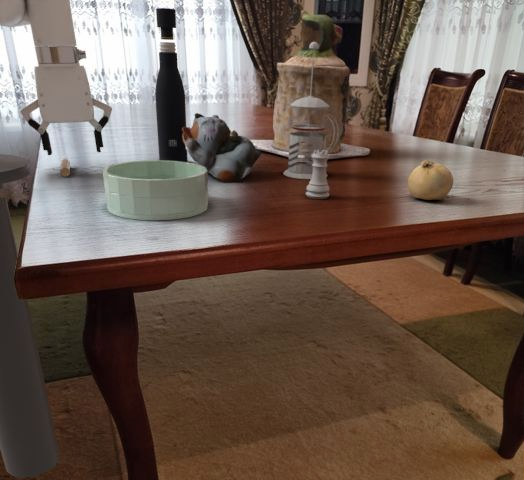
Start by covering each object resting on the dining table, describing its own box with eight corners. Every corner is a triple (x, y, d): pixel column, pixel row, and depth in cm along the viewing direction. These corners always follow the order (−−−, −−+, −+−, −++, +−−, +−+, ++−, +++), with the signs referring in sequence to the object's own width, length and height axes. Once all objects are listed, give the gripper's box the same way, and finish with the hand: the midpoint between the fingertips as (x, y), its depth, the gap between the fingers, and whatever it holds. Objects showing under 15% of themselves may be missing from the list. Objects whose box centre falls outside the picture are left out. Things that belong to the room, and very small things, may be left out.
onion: (412, 192, 102) (418, 153, 99) (453, 198, 99) (462, 158, 95) (399, 200, 96) (406, 159, 93) (443, 206, 93) (451, 165, 89)
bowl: (125, 225, 78) (121, 183, 75) (95, 200, 90) (90, 163, 87) (224, 213, 85) (224, 175, 82) (184, 191, 97) (182, 157, 94)
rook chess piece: (306, 199, 95) (310, 152, 91) (303, 193, 99) (306, 148, 95) (331, 199, 95) (335, 153, 91) (327, 194, 99) (331, 149, 95)
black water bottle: (176, 159, 125) (169, 10, 110) (193, 164, 121) (188, 9, 106) (154, 162, 121) (143, 8, 106) (170, 167, 117) (161, 7, 102)
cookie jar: (304, 164, 125) (315, 3, 109) (242, 149, 142) (244, 8, 126) (373, 155, 139) (391, 12, 123) (309, 143, 155) (318, 15, 140)
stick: (69, 167, 105) (60, 167, 104) (70, 177, 106) (60, 176, 105) (69, 159, 113) (60, 158, 112) (70, 167, 114) (61, 167, 113)
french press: (297, 168, 120) (305, 42, 108) (343, 175, 115) (356, 43, 102) (274, 174, 113) (279, 40, 101) (321, 182, 108) (333, 41, 95)
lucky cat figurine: (240, 185, 103) (203, 117, 96) (196, 200, 110) (159, 138, 103) (271, 151, 112) (240, 87, 105) (229, 168, 119) (197, 109, 113)
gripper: (103, 57, 105) (116, 147, 114) (10, 58, 101) (31, 152, 109) (105, 57, 99) (119, 153, 107) (6, 58, 94) (28, 158, 103)
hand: (74, 152), depth 108 cm, fingers open, 9 cm apart
